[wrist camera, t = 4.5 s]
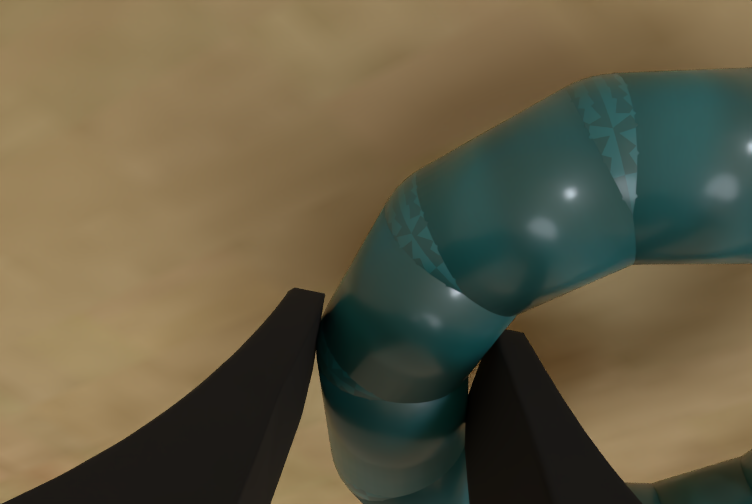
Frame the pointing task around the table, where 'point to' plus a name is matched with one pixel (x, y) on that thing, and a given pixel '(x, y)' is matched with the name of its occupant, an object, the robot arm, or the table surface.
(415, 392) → the ring
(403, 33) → the table surface
